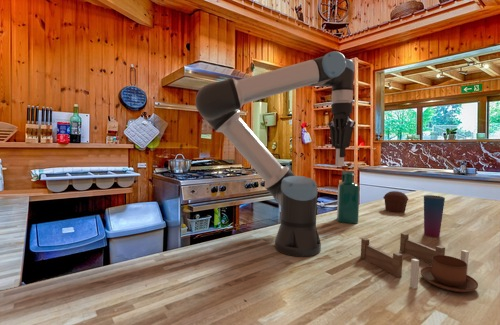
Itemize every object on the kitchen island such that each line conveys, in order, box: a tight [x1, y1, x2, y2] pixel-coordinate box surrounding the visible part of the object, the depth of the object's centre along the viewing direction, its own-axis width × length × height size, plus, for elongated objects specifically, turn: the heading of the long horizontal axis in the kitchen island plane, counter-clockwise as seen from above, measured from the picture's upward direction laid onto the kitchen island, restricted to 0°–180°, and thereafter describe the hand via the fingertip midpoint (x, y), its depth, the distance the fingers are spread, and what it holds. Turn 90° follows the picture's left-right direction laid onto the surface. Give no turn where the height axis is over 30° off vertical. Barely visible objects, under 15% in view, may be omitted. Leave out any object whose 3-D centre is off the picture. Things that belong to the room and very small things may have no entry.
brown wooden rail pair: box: [360, 232, 446, 278], centre depth 85 cm, size 18×14×6 cm
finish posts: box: [409, 249, 470, 290], centre depth 73 cm, size 19×1×7 cm, turn 110°
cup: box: [423, 194, 446, 238], centre depth 110 cm, size 7×7×15 cm
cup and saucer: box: [420, 255, 479, 293], centre depth 72 cm, size 12×12×6 cm
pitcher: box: [336, 170, 361, 224], centre depth 128 cm, size 10×8×22 cm
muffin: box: [383, 190, 409, 214], centre depth 148 cm, size 12×11×10 cm
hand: (339, 165), depth 109 cm, fingers closed
